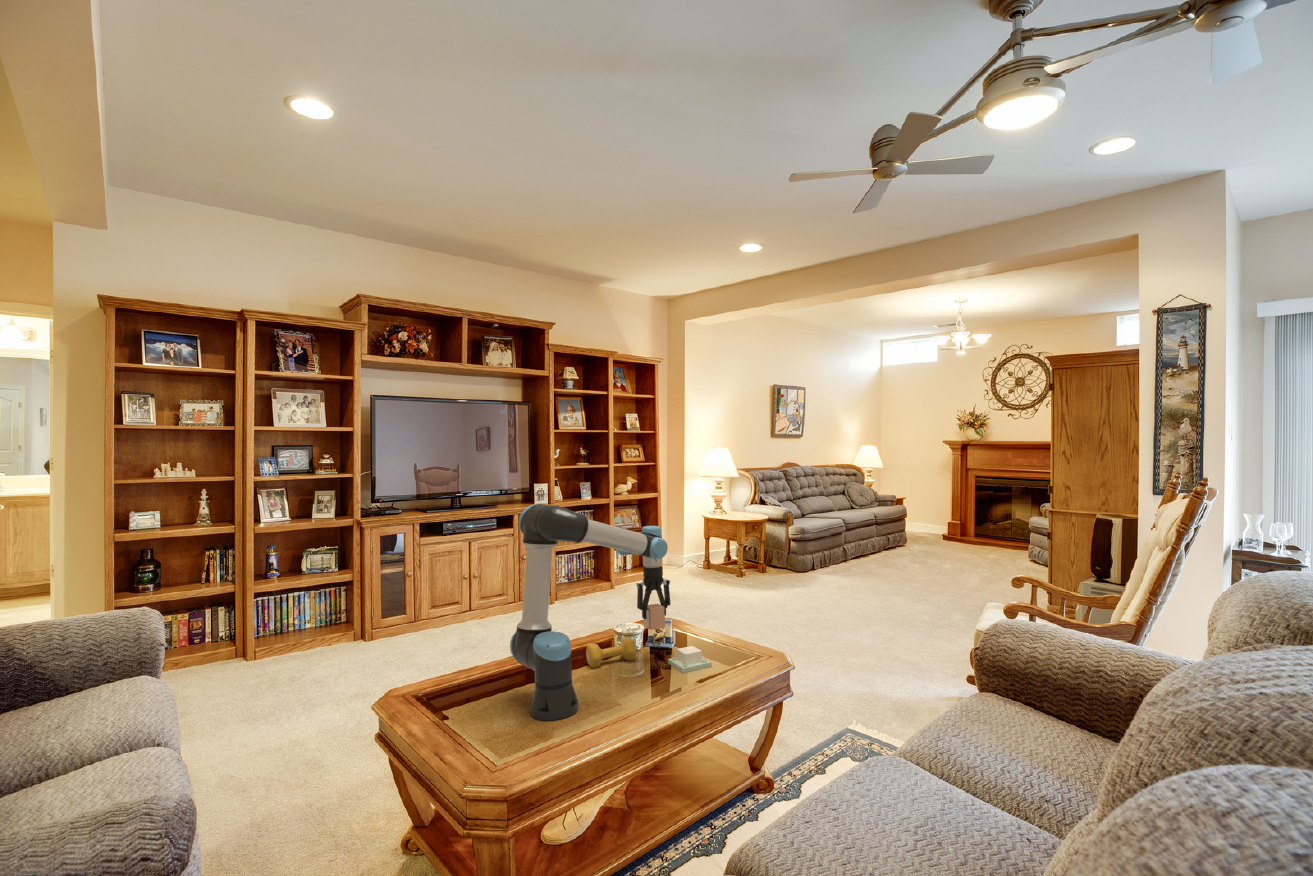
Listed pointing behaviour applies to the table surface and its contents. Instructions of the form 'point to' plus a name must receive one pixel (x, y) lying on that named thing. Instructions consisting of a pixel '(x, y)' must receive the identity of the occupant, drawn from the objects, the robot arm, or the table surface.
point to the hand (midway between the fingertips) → (654, 625)
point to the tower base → (690, 667)
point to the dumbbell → (610, 652)
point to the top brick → (656, 616)
